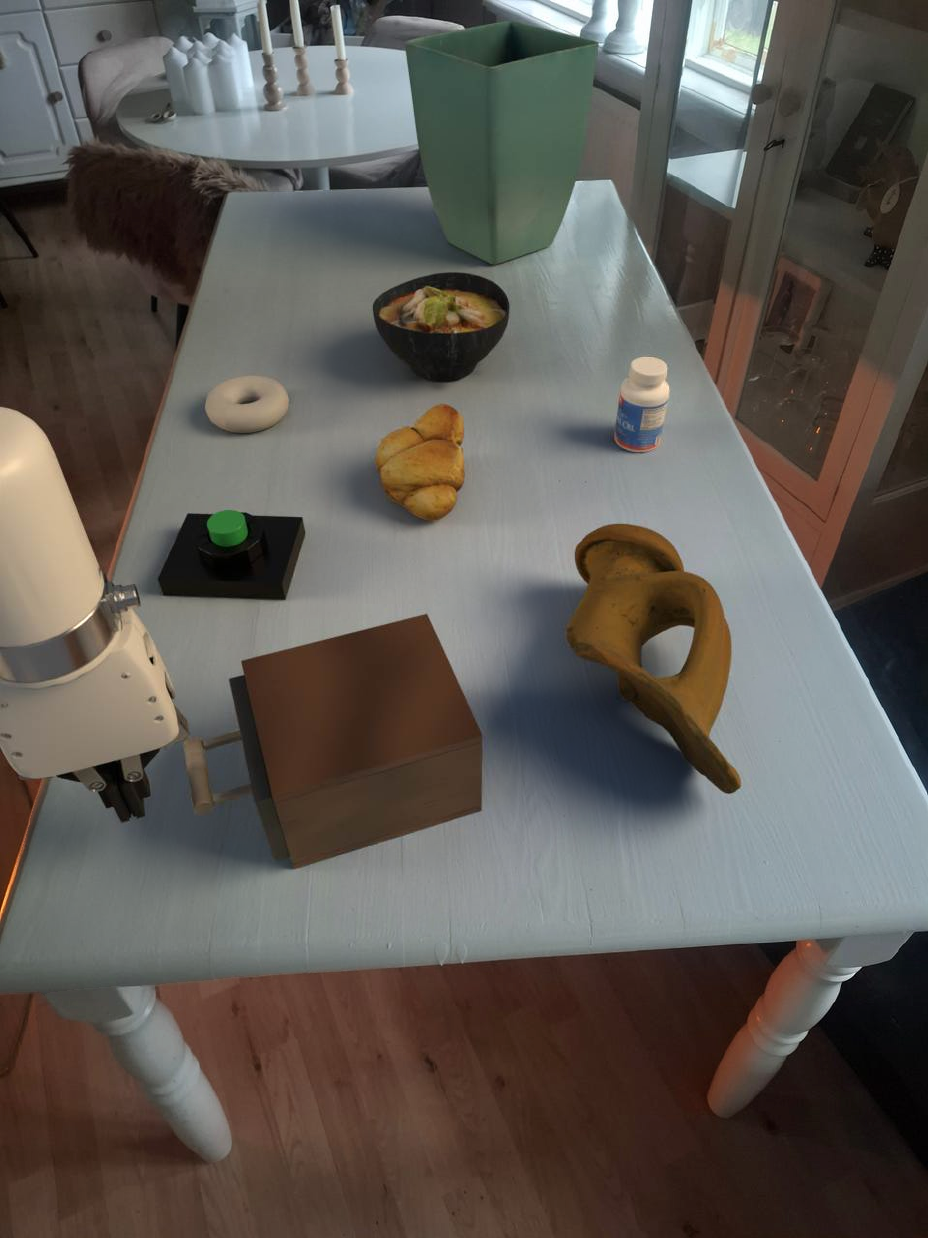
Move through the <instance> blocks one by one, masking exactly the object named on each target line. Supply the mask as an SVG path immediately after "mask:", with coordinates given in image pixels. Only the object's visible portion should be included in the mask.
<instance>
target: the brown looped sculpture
mask: <svg viewBox="0 0 928 1238" xmlns="http://www.w3.org/2000/svg"><path fill="white" fill-rule="evenodd" d="M574 562H575V563H574V564H575V568H576V569H577V573H578V574H579V576H580V577H581V578H582V580H583V581H584V582H585V584H587V586H586V589H585V591H584V594H583V595H582V597H581V599H580V602H579V603H578V605H577V607H576V609H575V611H574V613H573V615H572V617H571V618H570V620H569V622H568V623H567V626H566V628H565V640H566V643H567V644H568V647H570V648H571V649H572V650H573V652H574V653H575V655H577V657H578V658H579V659H584V660H587V661H590V662H593V663H596V664H599V665H601V666H604V667H606V668H608V669H610V670H613V671H614V672H616V674H617V688H618V694H619V696H620V697H621V698H622V699H623V700H624V701H625V702H626V703H631V704H632V705H633V706H634V707H635V709H636V710H637V711H639V712H640V713H641V714H642V715H643V716H644V717H645V718H647V720H649V721H651V722H654V723H655V724H657V725H658V726H660V727H662V728H663V729H664V730H665V731H666V732H667V733H668V734H669V736H670V737H671V739H672V740H673V742H674V743H675V745H676V746H677V748H678V750H679V752H680V753H681V755H682V756H683V758H684V759H685V760H686V761H687V762H688V763H689V764H690V765H691V766H692V767H693V768H694V769H695V770H696V771H697V772H698V773H699V774H700V775H702V776H704V777H705V778H706V779H707V780H708V781H709V782H711V783H712V785H714V787H716V788H717V789H718V790H719V791H721V792H723V793H724V794H726V795H727V794H728V795H731V794H734V793H736V792H737V791H738V790H740V789H741V787H742V779H741V777H740V775H739V772H738V770H737V769H736V768H735V767H734V766H733V765H732V764H730V763H729V761H728V760H727V758H726V757H725V756H724V754H723V753H722V751H721V749H719V747H718V746H717V745H716V743H714V742H713V740H712V739H711V738H710V733H711V731H712V729H713V726H714V725H715V722H716V720H717V718H718V716H719V714H720V711H721V708H722V706H723V702H724V698H725V696H726V695H725V694H726V691H727V686H728V682H729V676H730V671H731V665H732V664H731V663H732V651H733V650H732V645H733V644H732V634H731V630H730V627H729V623H728V622H727V620H726V617H725V611H724V607H723V604H722V601H721V600H720V597H719V595H718V593H717V591H716V590H715V588H714V587H713V585H712V584H711V583H710V582H709V581H708V580H706V579H705V578H703V577H701V576H700V575H697V574H695V573H692V572H689V571H685V567H684V563H683V561H682V558H681V556H680V555H679V552H678V550H677V548H676V547H675V545H674V544H673V543H672V542H671V541H670V540H669V539H667V537H665V536H664V535H662V534H661V533H659V532H657V531H655V530H653V529H651V528H648V527H645V526H642V525H636V524H630V523H612V524H606V525H603V526H601V527H598V528H596V529H594V530H593V531H590V532H589V533H588V534H586V535H584V537H583V538H582V540H581V541H580V542H579V543H577V545H576V546H575V550H574ZM678 626H679V627H680V626H685V627H691V628H693V637H692V641H691V645H690V648H689V651H688V654H687V657H686V659H685V662H684V664H683V665H682V668H681V669H680V671H679V672H678V673H676V674H674V675H670V676H667V677H657V676H654V675H652V674H650V673H649V672H648V671H646V670H645V669H644V668H643V665H642V647H643V646H644V645H645V644H646V643H647V642H649V641H650V640H651V639H653V638H654V637H656V636H658V635H659V634H661V633H663V632H665V631H668V630H670V629H672V628H676V627H678Z"/></svg>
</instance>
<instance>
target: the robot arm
mask: <svg viewBox="0 0 928 1238" xmlns="http://www.w3.org/2000/svg"><path fill="white" fill-rule="evenodd" d="M141 606H142V605H141V599H140V594H139V590H138V588H137V585H136V584H135V583H132V584H127V585H122V584H116V585H115V584H114V583H113V581H112V580H110V581H109V580H108V577H107V575H106V572H105V570H103V569H101V567H100V565H99V562H98V560H97V557H96V555H95V552H94V549H93V547H92V545H91V541H90V539H89V537H88V535H87V532H86V530H85V526H84V524H83V522H82V519H81V517H80V514H79V512H78V509H77V506H76V504H75V500H74V499H73V496H72V494H71V491H70V488H69V486H68V483H67V481H66V479H65V476H64V473H63V471H62V468H61V466H60V463H59V460H58V458H57V455H56V452H55V450H54V449H53V446H52V444H51V442H50V439H49V438H48V436H47V434H46V433H45V431H44V430H43V429H42V428H41V427H40V426H39V424H37V423H36V421H34V420H33V419H32V418H30V417H29V416H27V415H25V414H23V413H22V412H20V411H19V410H15V409H12V408H8V407H4V406H0V749H1V752H2V753H3V756H4V757H5V759H6V760H7V762H8V764H9V765H10V767H11V768H12V769H13V770H14V771H15V772H16V774H18V775H17V776H18V778H19V779H20V780H21V781H34V780H43V779H50V778H54V777H57V778H59V779H62V780H67V781H70V782H71V781H72V782H75V783H81V784H82V785H83V786H84V787H85V789H87V790H88V791H89V792H92V793H97V794H98V796H99V798H100V800H101V801H102V804H103V805H104V807H105V809H112V808H113V809H114V811H115V813H116V816H117V817H118V819H119V821H120V823H126V822H129V821H130V819H132V818H136V819H140V818H144V817H146V810H145V801H144V799H148V798H151V797H152V790H151V789H152V788H151V783H150V779H149V776H148V774H147V773H146V770H145V769H146V767H147V766H149V764H150V763H151V762H152V760H153V759H154V758H155V757H156V756H158V754H159V753H160V751H161V749H163V748H164V749H167V748H169V747H171V746H173V745H176V744H178V743H181V742H183V741H186V740H187V739H189V738H190V735H191V733H190V728H189V722H188V719H187V718H186V716H185V715H184V714H183V713H182V712H181V710H180V709H179V708H178V707H177V706H176V705H175V704H174V702H173V700H175V699H176V693H175V689H174V685H173V682H172V679H171V676H170V674H169V672H168V669H167V667H166V665H165V663H164V660H163V658H162V657H161V654H160V652H159V650H158V648H157V646H156V644H155V642H154V640H153V638H152V636H151V635H150V633H149V631H148V630H147V628H146V627H145V625H144V623H143V621H142V620H141V618H140V617H139V616H138V614H137V613H136V612H135V610H134V608H135V609H136V608H140V607H141Z"/></svg>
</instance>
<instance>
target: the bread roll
mask: <svg viewBox="0 0 928 1238" xmlns="http://www.w3.org/2000/svg"><path fill="white" fill-rule="evenodd" d="M464 437H465V425H464V419H463V417H462V415H461V413H460V412H459V411H458V410H457V409H456V408H454V407H453V406H451V405H449V404H445V403H440V404H437V405H433V406H432V407H430V408H429V409H427V410H426V411H425V413H423V414H422V415H421V416H420V417H419V418H418V419H416V420H415V422H414V424H413V426H408V425H407V426H403V427H400V428H398V429H395V430H393V431H391V432H388V433H387V434H386V435H385V436H384V437H383V438H380V443H379V444H378V447H377V450H376V454H375V460H374V461H375V462H374V463H375V467H376V470H377V471H378V472H379V476H380V477H379V479H380V483H381V486H382V489H383V491H384V493H385V494H386V497H387V498H388V499H389V500H391V501H392V502H394V503H396V504H397V505H399V506H402V507H404V508H405V509H406V510H407V511H408V512H410V514H411V515H413V516H415V517H417V518H419V519H421V520H425V521H430V522H431V521H432V522H433V521H438V520H441V519H443V518H445V517H446V516H447V515H449V514H450V512H452V510H453V509H454V507H455V505H456V503H457V499H458V492H459V491H460V490H461V489H462V488H463V486H464V483H465V457H464V448H463V447H462V444H463V441H464Z"/></svg>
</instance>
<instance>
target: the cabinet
mask: <svg viewBox="0 0 928 1238" xmlns="http://www.w3.org/2000/svg"><path fill="white" fill-rule="evenodd" d="M240 662H241V668H242V671H243V675H244V676H245V681H246V685H247V689H248V694H249V698H250V703H251V707H252V711H253V716H254V720H255V724H256V729H257V733H258V738H259V742H260V746H261V751H262V755H263V760H264V764H265V768H266V773H267V777H268V781H269V786H270V790H271V795H272V798H273V802H274V805H275V808H276V812H277V815H278V818H279V821H280V825H281V828H282V831H283V835H284V838H285V841H286V844H287V848H288V851H289V854H290V856H289V858H290V860H291V864H292V868H293V869H294V870H296V869H299V868H303V867H305V866H308V865H311V864H312V865H313V864H315V863H318V862H322V861H325V860H328V859H332V858H334V857H337V856H341V855H344V854H347V853H350V852H354V851H357V850H360V849H363V848H367V847H369V846H373V845H377V844H379V843H383V842H385V841H389V840H392V839H395V838H398V837H401V836H405V835H408V834H412V833H415V832H418V831H421V830H423V829H427V828H431V827H433V826H436V825H439V824H443V823H447V822H449V821H453V820H456V819H459V818H462V817H465V816H468V815H472V814H475V813H478V812H481V811H482V810H483V809H482V808H483V733H482V731H481V728H480V726H479V723H478V722H477V720H476V717H475V716H474V713H473V711H472V709H471V706H470V704H469V702H468V700H467V698H466V695H465V693H464V691H463V688H462V687H461V685H460V682H459V680H458V678H457V675H456V674H455V671H454V670H453V666H452V665H451V663H450V661H449V658H448V656H447V654H446V651H445V649H444V648H443V645H442V643H441V641H440V638H439V637H438V634H437V632H436V629H435V628H434V625H433V623H432V621H431V619H430V617H429V615H428V613H424V614H420V615H417V616H411V617H407V618H405V619H404V618H403V619H401V620H397V621H393V622H389V623H385V624H379V625H377V626H373V627H369V628H365V629H361V630H356V631H353V632H349V633H345V634H340V635H337V636H333V637H330V638H329V637H328V638H325V639H321V640H318V641H314V642H313V641H312V642H310V643H306V644H301V645H298V646H294V647H289V648H286V649H282V650H278V651H274V652H271V653H266V654H263V655H258V656H254V657H251V658H246V659H243V660H241V661H240Z"/></svg>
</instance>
